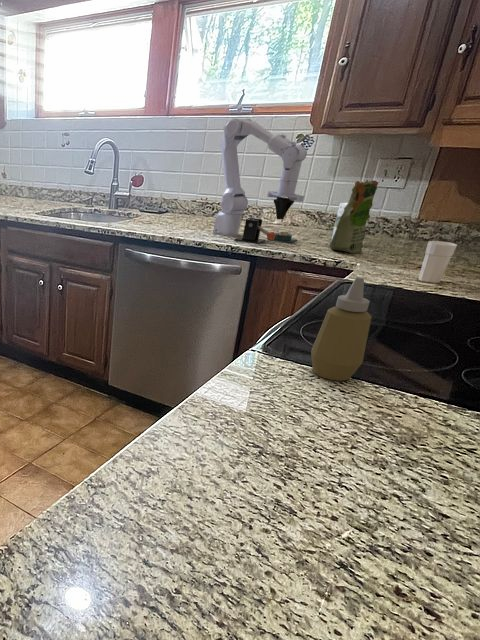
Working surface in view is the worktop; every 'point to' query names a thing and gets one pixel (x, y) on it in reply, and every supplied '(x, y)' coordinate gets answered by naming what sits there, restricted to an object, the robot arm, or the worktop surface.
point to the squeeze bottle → (343, 336)
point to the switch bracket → (251, 232)
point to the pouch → (354, 218)
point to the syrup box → (338, 216)
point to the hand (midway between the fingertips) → (279, 219)
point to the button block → (283, 238)
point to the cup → (436, 260)
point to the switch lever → (267, 233)
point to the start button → (283, 232)
